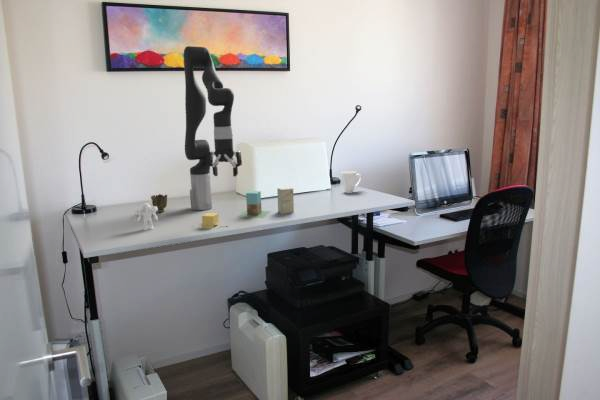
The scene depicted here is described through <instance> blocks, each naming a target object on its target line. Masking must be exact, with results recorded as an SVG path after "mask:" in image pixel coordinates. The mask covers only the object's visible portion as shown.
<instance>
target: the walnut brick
mask: <svg viewBox="0 0 600 400" xmlns="http://www.w3.org/2000/svg"><path fill="white" fill-rule="evenodd" d="M246 210H247V215H259V214H261V213H262V211H263V210H262V201H261V202H260V203H259V204H257V205H256V204H247V203H246Z"/></svg>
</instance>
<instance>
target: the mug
mask: <svg viewBox="0 0 600 400" xmlns="http://www.w3.org/2000/svg"><path fill="white" fill-rule="evenodd" d="M340 176H341V177H340V178H341V180H340V182H341V186H342V188H343V191H344V193H345V194H353V193H354V191H355V189H356V187H357V186H359V184H360V183H361V182H362V175H361V174H360V173H357V171H355V170H344V171H343V170H342V171H341V174H340ZM357 176H359V180H357V179H358V177H357Z"/></svg>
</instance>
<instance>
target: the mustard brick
mask: <svg viewBox="0 0 600 400" xmlns="http://www.w3.org/2000/svg"><path fill="white" fill-rule="evenodd" d="M201 221H202V228H212V229H214V228H216V227H217V226H218V223H219V213H216V212H214V213H213V212H207V213H205V214H202V216H201Z"/></svg>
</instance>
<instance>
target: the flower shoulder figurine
mask: <svg viewBox="0 0 600 400" xmlns="http://www.w3.org/2000/svg"><path fill="white" fill-rule="evenodd" d="M152 201H153V200H152V199H151V200H149V201H148V202H144V203H143V204H142V206H141V207H136V208H135V210H134V211H135V215H136V214H138V217H137V223H139V222H140V221H142V219H141V218H143V231H147V230H154V225H153V220H155V221H156V222H157V221H158V219H159V218H158V216H157V214H156V213H157V211H158V208H157V207H156V206H154V207H153V206H152V205H150V204H151V203H152ZM152 216H153V218H152Z"/></svg>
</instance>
